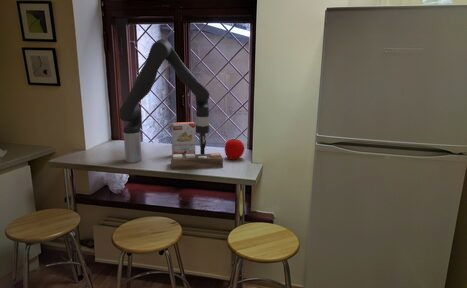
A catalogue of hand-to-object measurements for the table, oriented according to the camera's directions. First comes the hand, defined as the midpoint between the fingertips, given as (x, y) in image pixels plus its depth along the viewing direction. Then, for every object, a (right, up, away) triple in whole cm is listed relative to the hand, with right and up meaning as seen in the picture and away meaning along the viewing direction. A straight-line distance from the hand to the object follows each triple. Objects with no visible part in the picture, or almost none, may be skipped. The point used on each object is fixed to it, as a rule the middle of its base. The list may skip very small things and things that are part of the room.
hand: (202, 154), depth 189 cm
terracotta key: (+7, -3, +2) cm, 8 cm away
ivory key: (-14, -4, -2) cm, 14 cm away
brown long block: (-3, -6, 0) cm, 7 cm away
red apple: (+18, -3, +15) cm, 24 cm away
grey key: (-7, -3, -1) cm, 8 cm away
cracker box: (-14, -2, +21) cm, 25 cm away
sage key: (0, -5, +1) cm, 5 cm away
